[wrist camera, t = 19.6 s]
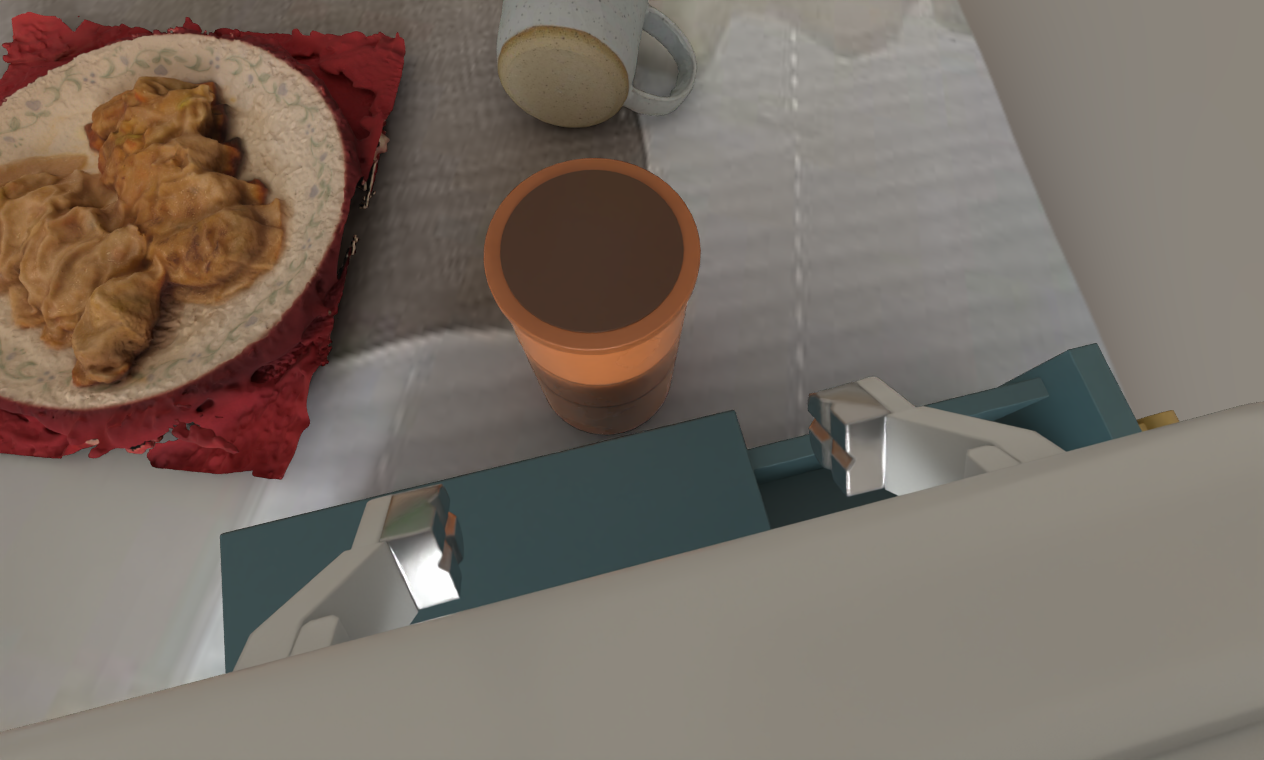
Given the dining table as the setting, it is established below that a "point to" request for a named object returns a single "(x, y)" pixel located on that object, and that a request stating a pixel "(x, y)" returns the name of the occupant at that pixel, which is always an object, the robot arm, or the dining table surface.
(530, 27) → the ceramic mug
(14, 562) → the dining table surface
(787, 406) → the dining table surface
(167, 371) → the plate with food
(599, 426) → the orange lidded canister
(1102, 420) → the drawer
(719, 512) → the cabinet
